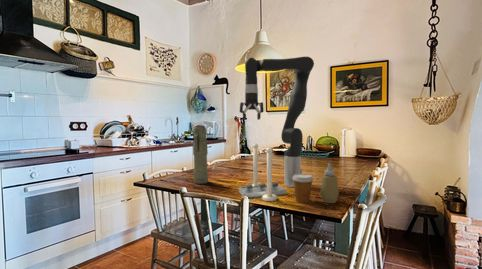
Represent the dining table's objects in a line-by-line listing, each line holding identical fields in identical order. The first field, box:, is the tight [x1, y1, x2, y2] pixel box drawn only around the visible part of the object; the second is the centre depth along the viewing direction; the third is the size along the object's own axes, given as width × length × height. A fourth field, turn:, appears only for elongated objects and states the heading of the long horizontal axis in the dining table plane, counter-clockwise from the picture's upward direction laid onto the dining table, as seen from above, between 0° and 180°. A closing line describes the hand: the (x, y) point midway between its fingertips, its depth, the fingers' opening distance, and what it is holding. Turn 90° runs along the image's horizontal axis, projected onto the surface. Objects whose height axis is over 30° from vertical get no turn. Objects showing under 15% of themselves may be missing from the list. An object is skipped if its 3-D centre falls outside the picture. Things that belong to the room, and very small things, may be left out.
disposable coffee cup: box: [293, 173, 314, 204], centre depth 129 cm, size 10×10×12 cm
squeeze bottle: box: [319, 162, 339, 204], centre depth 127 cm, size 8×8×18 cm
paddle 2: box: [272, 181, 279, 188], centre depth 145 cm, size 3×3×2 cm
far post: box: [251, 143, 259, 186], centre depth 154 cm, size 7×7×25 cm
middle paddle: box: [258, 182, 267, 188], centre depth 143 cm, size 3×3×2 cm
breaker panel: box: [238, 184, 287, 199], centre depth 144 cm, size 22×12×3 cm, turn 105°
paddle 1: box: [245, 183, 253, 190], centre depth 142 cm, size 3×3×2 cm
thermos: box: [192, 124, 209, 185], centre depth 168 cm, size 9×12×35 cm
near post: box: [261, 147, 278, 202], centre depth 132 cm, size 7×7×25 cm
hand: (251, 119), depth 165 cm, fingers open, 8 cm apart
